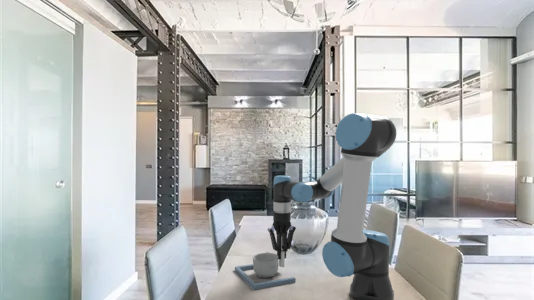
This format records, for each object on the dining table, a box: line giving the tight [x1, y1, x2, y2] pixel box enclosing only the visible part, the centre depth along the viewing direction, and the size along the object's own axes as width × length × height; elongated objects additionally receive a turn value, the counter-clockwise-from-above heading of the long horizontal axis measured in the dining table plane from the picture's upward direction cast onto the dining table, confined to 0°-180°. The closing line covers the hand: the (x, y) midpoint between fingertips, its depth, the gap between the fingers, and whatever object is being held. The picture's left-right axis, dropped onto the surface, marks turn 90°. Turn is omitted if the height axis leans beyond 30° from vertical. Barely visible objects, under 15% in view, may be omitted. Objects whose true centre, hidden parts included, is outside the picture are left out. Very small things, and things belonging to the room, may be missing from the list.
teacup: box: [252, 251, 279, 279], centre depth 135 cm, size 14×11×8 cm
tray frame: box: [234, 263, 296, 291], centre depth 132 cm, size 22×18×2 cm
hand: (281, 266), depth 137 cm, fingers closed
